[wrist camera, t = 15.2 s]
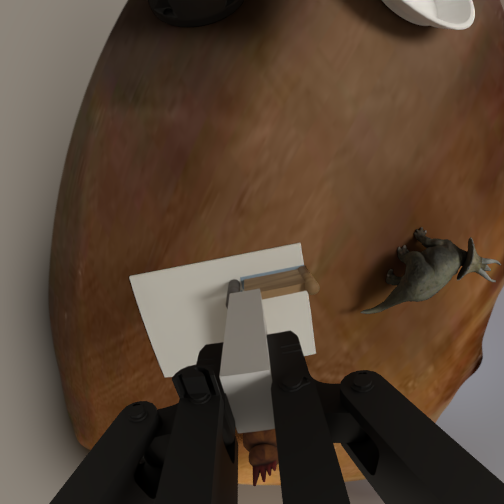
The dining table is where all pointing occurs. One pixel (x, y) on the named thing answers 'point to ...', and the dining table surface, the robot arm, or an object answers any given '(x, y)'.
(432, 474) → the robot arm
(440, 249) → the dinosaur figurine
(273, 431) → the wooden figurine
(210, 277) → the card
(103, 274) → the dining table surface
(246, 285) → the fence fixed
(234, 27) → the dining table surface
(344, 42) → the dining table surface
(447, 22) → the bowl
